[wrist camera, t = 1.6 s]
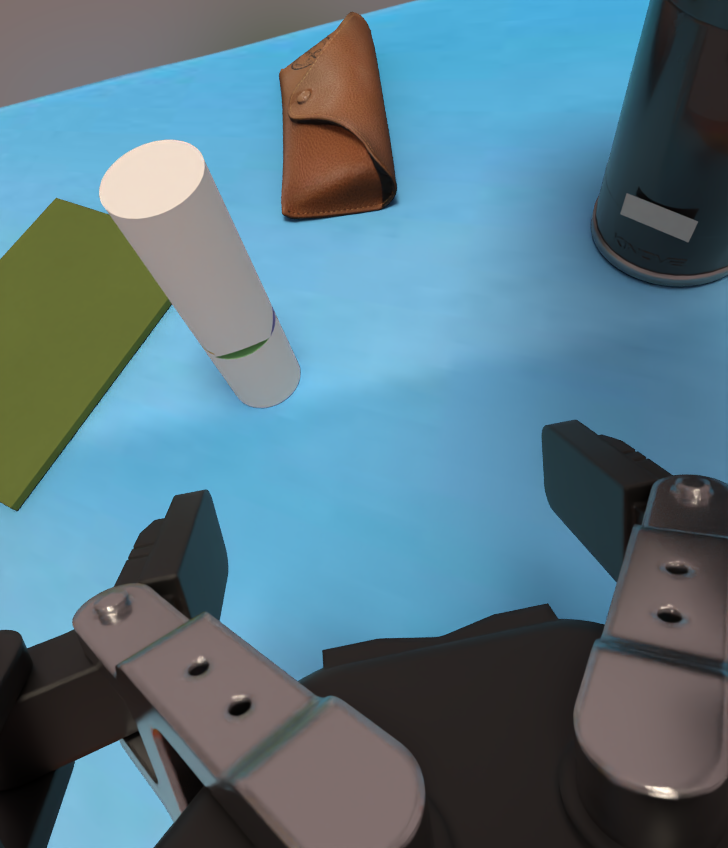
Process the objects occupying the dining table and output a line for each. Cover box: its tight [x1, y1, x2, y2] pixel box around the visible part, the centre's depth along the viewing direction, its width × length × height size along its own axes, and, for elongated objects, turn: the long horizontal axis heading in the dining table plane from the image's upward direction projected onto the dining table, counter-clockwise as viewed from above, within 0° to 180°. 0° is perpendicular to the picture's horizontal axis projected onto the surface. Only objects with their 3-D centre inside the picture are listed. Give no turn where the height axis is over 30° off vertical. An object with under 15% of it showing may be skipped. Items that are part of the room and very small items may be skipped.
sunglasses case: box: [279, 12, 397, 219], centre depth 44 cm, size 18×7×7 cm, turn 6°
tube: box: [99, 140, 300, 408], centre depth 29 cm, size 4×4×15 cm
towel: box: [0, 198, 172, 511], centre depth 40 cm, size 21×15×1 cm
